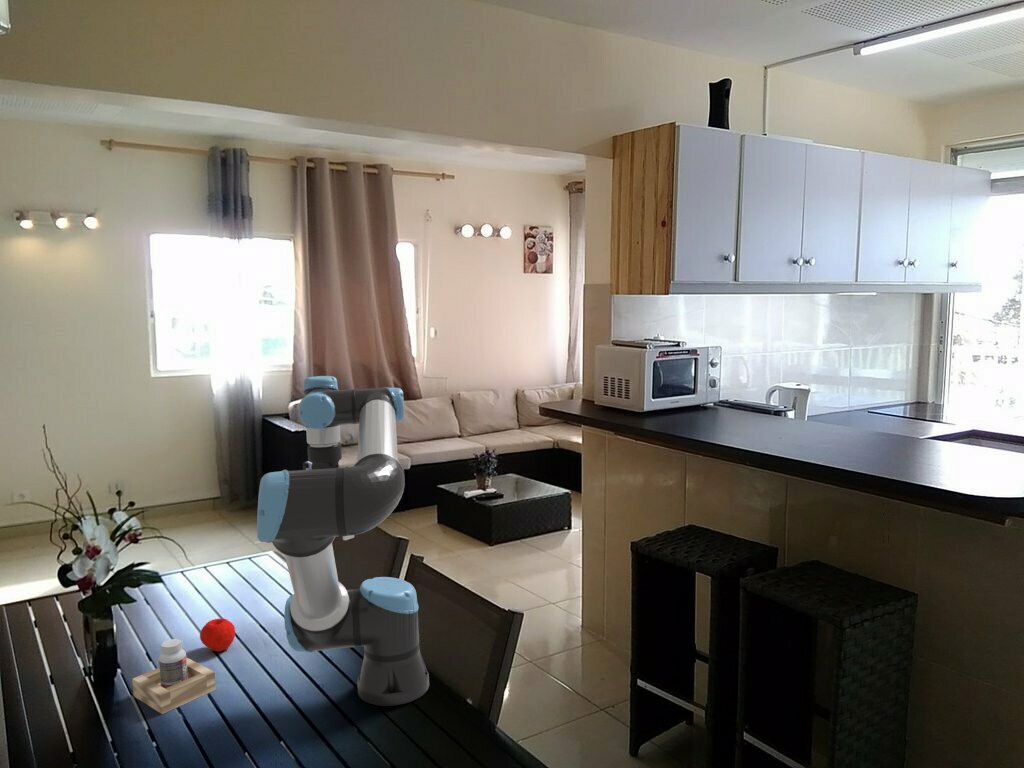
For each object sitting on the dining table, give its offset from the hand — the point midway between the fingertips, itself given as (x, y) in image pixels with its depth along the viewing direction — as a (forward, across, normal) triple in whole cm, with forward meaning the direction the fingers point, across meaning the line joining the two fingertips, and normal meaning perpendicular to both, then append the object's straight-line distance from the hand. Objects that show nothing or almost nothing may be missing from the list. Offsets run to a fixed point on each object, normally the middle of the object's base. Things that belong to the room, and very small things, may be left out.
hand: (329, 533), depth 181 cm
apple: (+29, +24, +16) cm, 41 cm away
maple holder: (+29, +13, +33) cm, 46 cm away
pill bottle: (+27, +13, +33) cm, 45 cm away
